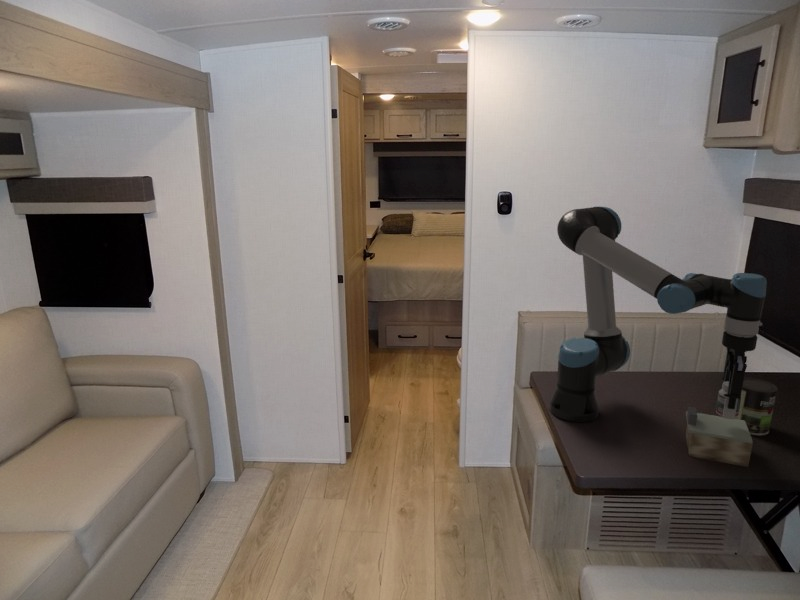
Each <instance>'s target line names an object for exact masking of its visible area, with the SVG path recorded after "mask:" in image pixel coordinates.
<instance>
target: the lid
mask: <svg viewBox="0 0 800 600" xmlns="http://www.w3.org/2000/svg"><path fill="white" fill-rule="evenodd" d="M685 417H686V422H687V423H688V429H689V433H695V434H700V435H706V436H712V437H717V438H723V439H729V440H734V441H740V442H746V443H751V444H752V443H753V439H752V435H750V433H749V430H748V428H747V425H746V422H745V421H744V420H738V419H734V420H733V419H726V418H723V417H722V416H720V415H713V414H706V413H701V412H697V408H696V407H692V406H688V408H687V410H686V411H685ZM687 423H686V424H687Z"/></svg>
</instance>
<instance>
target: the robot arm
mask: <svg viewBox="0 0 800 600" xmlns="http://www.w3.org/2000/svg"><path fill="white" fill-rule="evenodd" d="M556 229H557V236H558V238H559V240H560V242H561V243H562V244H563V245H564V246H565V247H566V248H568V249H569V250H570V251H572V252H574V253H575V254H577V255H578V256H582V264H583V275H584V287H585V288H584V289H585V303H586V314H587V315H586V317H587V329H586V330H585V331H584V332H583V336H584V337H578V338H576V337H574V338H570V339H566V340H565V341H564V342H562V343H561V345H560V347H559V352H558V358H557V359H558V363H557V376H556V377H557V378H556V387H555V389H554V391H553V393H552V396H551V397H550V400H549V408H548V409H549V411H550V413H551V414H553V415H554V416H555V417H557V418H559V419H562V420H564V421H568V422H573V423H588V422H591V421H595V420H596V419H597V418H598V417H599V412H600V411H599V410H600V409H599V404H598V400H597V395H596V382H597V378H598V377H601V376H604V375H606V374H609V373H611V372H614V371H617V370H619V369H620V368H622V367H624V366H625V365H626V364H627V363H628V361H629V359H630V356H631V347H630V343H629V342H628V341H627V340H626V338H625V337H624V336H623V331H622V330H621V329H620V328H619V327H618V326H617V319H616V308H615V307H616V305H615V294H614V293H615V290H614V278H613V277H614V276H613V275H614V274H613V273H615V275H618V276H619V277H620V278H623V279H624V280H626V281H627V282H629V283H630V284H632V285H633V286H636V287H637V288H638V289H640V290H642V291H644V292H645V293H646V294H648V295H650V296H651V297H653V298H655V299H656V301H657V304H658V306H659V307H660V309H661V310H662V311H664V312H665V313H668V314H673V315H676V314H681V313H686V312H689V311H690V310H693V309H695V308H700V307H702V306H705V305H711V306H716V307H722V308H726V309H727V310H726V314H725V320H724V326H723V329H724V331H723V334H722V339H721V344H722V345H723V346H724V347H725V348H726V356H725V361H724V366H723V367H724V368H723V372H722V373H723V374H722V377H721V380H722V383H723V382H726V381H729V385H728V393H727V394H724V396H726V398H725V404H724V410H723V416H721V417H723V418H726V419H733V420H734V419H735V414H736V408H737V403H738V399H740V398H741V392H742V386H743V381H744V378H745V374H746V370H747V367H748V365H747V360H748V358H747V356H746V352H752V351H755V350H756V348H757V342H758V336H757V335H758V334H759V329H760V327H762V326H763V322H761V320H762V313H763V309H764V303H765V299H766V296H767V284H768V283H767V282H768V280H767V278H766V277H765V276H763V275H760V274H758V273H752V272H751V273H748V272H737V273H735V274H733V275H732V278H725V277H719V276H713V275H707V274H704V273H695V272H694V273H693V272H689V273H687V274H686V275H685V276H684V277H682V279H681V278H680V277H679V276H676V275H675V274H673V273H671V272H670V271H667V270H666V269H664V268H662V266H661V267H660V266H659V265H658V264H655V263H654V262H652V261H650V260H648V259H647V258H645V257H644V256H642V255H640V254H638V253H637V252H634V251H632V250H631V249H629V248H628V247H626V246H624V245H622V244H621V243H619V242H617V241H616V239H617V238H618V237H619V236H620V234H621V232H622V221H621V217H620V215H618V213H617V212H616V211H615V210H613V208H611V207H608V206H592V207H585V208H584V207H583V208H575V209H572V210H569V211H567V212H565V214H563V215H562V217H560V219H559V222H558V223H557V228H556ZM721 389H723V388H722V387H721Z"/></svg>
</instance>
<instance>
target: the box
mask: <svg viewBox="0 0 800 600" xmlns="http://www.w3.org/2000/svg"><path fill="white" fill-rule="evenodd" d="M685 431H686V432H685V442H686V447H687V455H688V456H689V457H692V458H697V459H698V458H699V459H704V460H709V461H714V462H719V463H725V464H730V465H734V466H739V467H744V468H749V466H750V464H749V463H750V459H751V455H752V450H753V445H754V443H753V442H752V444H751V443H746V442H740V441H734V440H729V439H723V438H717V437H712V436H706V435H700V434H695V433H689V429H688V423H686V430H685Z"/></svg>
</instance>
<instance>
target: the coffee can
mask: <svg viewBox="0 0 800 600" xmlns="http://www.w3.org/2000/svg"><path fill="white" fill-rule="evenodd" d="M778 390H779V387H777V386H776V385H775V384H774V383H771V382H769V381H767V380H763V379H758V378H755V377H744V381H743V386H742V392H741V403H740V409H739V415H738V417H736V418H735V419H738V420H744V421H745V422H746V425H747V428H748V430H749V433H750V435H751V436H758V437H759V436H766V435H768V434H769V433H770V429H771V428H770V427H771V421H772V417H773V412H774V408H775V403H776V398H777V393H778Z"/></svg>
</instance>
